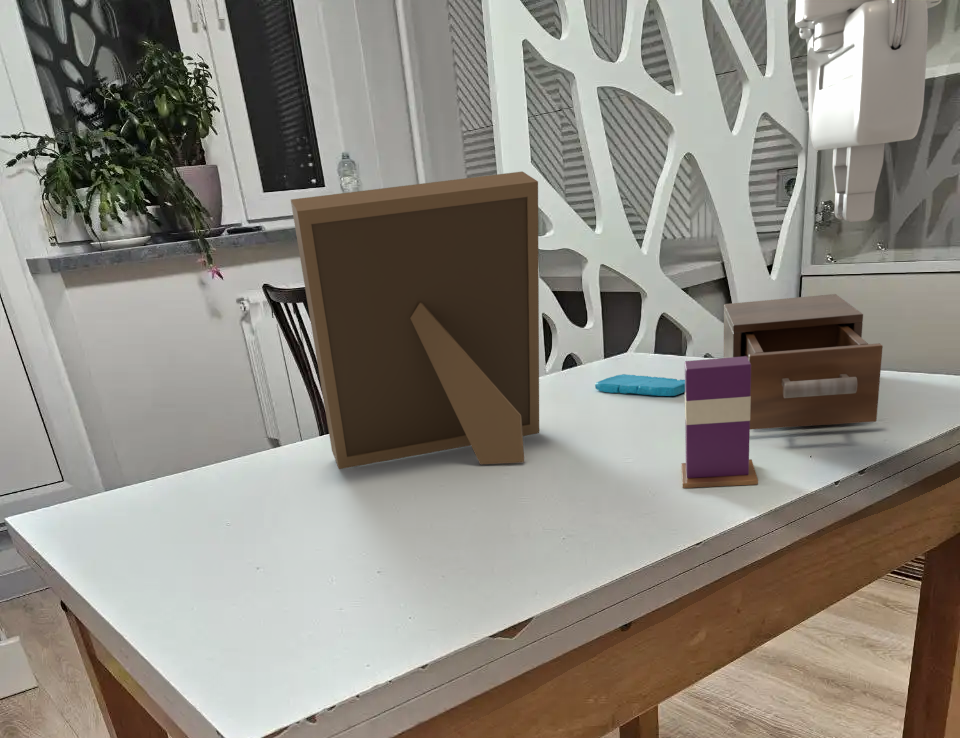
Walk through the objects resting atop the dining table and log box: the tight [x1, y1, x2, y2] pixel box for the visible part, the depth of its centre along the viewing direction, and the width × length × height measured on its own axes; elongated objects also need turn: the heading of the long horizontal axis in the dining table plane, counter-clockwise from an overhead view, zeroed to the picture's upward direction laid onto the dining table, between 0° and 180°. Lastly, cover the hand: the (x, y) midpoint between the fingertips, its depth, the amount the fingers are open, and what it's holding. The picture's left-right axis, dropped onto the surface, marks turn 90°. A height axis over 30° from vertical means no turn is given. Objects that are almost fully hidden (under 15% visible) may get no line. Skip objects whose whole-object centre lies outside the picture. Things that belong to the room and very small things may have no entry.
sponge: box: [594, 373, 685, 397], centre depth 110 cm, size 2×12×6 cm
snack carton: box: [684, 356, 751, 478], centre depth 75 cm, size 5×4×9 cm
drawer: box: [744, 324, 884, 430], centre depth 88 cm, size 20×11×7 cm, turn 170°
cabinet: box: [723, 293, 864, 358], centre depth 101 cm, size 17×13×9 cm
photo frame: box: [290, 171, 540, 470], centre depth 87 cm, size 15×22×25 cm
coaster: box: [680, 458, 759, 489], centre depth 77 cm, size 6×6×1 cm
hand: (852, 220), depth 64 cm, fingers closed
